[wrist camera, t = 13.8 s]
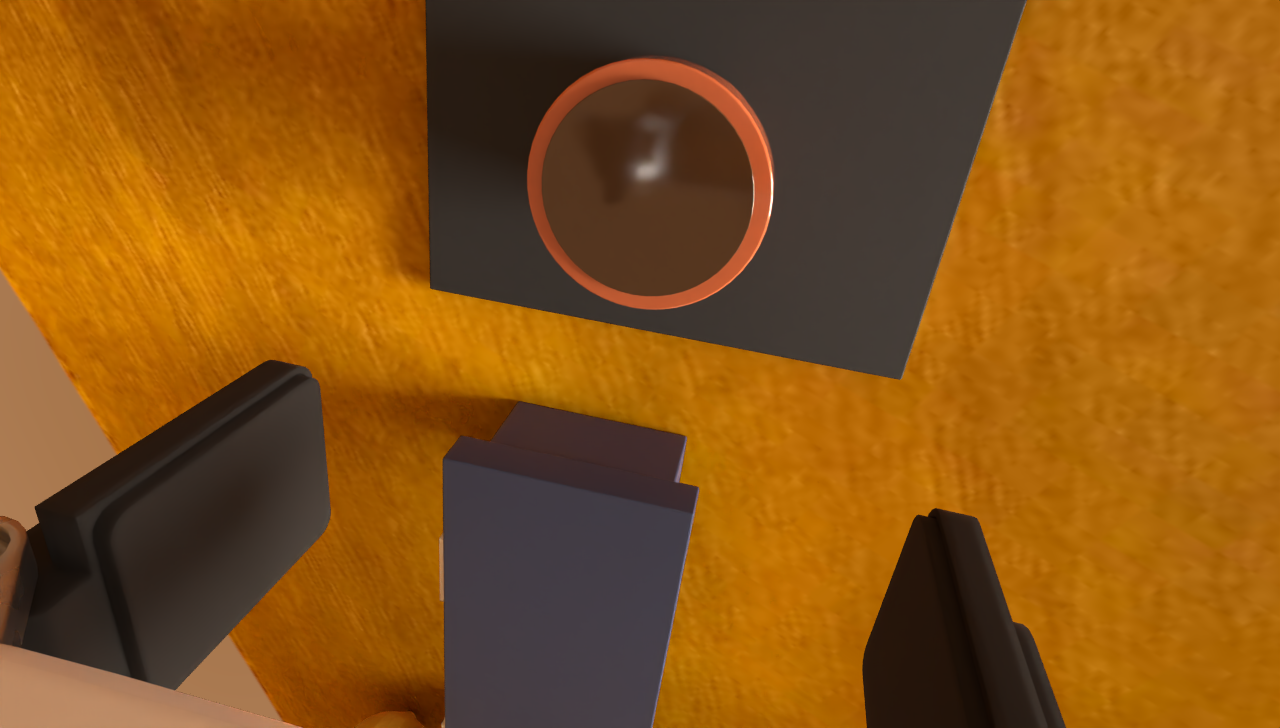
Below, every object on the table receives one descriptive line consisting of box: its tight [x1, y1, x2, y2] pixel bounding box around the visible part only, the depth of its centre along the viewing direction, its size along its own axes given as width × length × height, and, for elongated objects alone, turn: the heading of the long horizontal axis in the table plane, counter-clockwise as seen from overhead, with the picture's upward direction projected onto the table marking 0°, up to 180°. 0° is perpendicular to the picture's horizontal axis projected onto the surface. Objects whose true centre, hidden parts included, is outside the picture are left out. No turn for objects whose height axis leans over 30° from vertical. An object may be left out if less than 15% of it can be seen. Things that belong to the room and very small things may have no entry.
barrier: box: [439, 401, 699, 728], centre depth 36 cm, size 10×24×6 cm, turn 173°
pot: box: [527, 55, 774, 309], centre depth 23 cm, size 7×7×7 cm
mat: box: [426, 0, 1027, 380], centre depth 27 cm, size 20×15×1 cm
